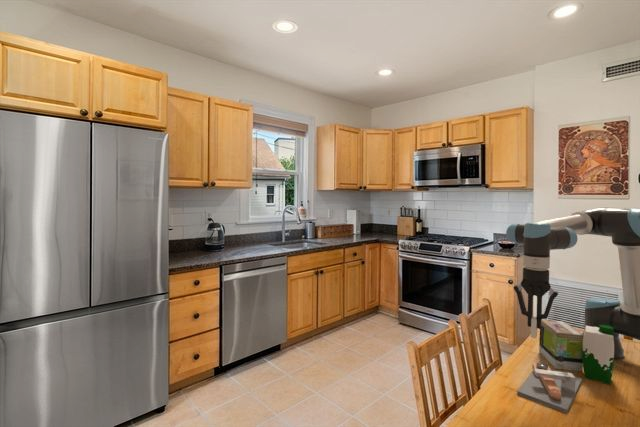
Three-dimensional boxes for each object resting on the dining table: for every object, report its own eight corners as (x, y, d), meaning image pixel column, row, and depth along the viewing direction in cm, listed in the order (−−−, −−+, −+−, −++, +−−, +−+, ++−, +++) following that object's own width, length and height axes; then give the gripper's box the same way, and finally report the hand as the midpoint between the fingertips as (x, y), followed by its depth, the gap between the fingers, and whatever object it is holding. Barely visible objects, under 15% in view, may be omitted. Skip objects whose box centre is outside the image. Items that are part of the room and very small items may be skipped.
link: (532, 368, 128) (532, 363, 128) (548, 371, 126) (548, 365, 126) (547, 398, 109) (547, 392, 109) (566, 401, 107) (566, 395, 107)
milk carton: (613, 386, 118) (615, 332, 117) (581, 378, 124) (583, 325, 123) (612, 376, 125) (614, 324, 124) (581, 368, 131) (583, 319, 130)
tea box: (583, 372, 129) (585, 334, 128) (554, 369, 131) (556, 332, 130) (563, 354, 143) (564, 320, 143) (538, 352, 145) (539, 318, 145)
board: (537, 367, 132) (537, 364, 132) (581, 381, 122) (582, 378, 122) (517, 394, 114) (517, 390, 114) (567, 413, 104) (567, 409, 104)
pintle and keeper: (539, 370, 127) (539, 357, 127) (581, 388, 115) (582, 374, 115) (520, 379, 121) (520, 365, 121) (562, 399, 109) (562, 384, 109)
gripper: (511, 267, 113) (510, 335, 114) (558, 272, 105) (556, 345, 106) (515, 264, 119) (514, 328, 120) (560, 268, 111) (558, 338, 112)
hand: (533, 336), depth 113 cm, fingers closed
